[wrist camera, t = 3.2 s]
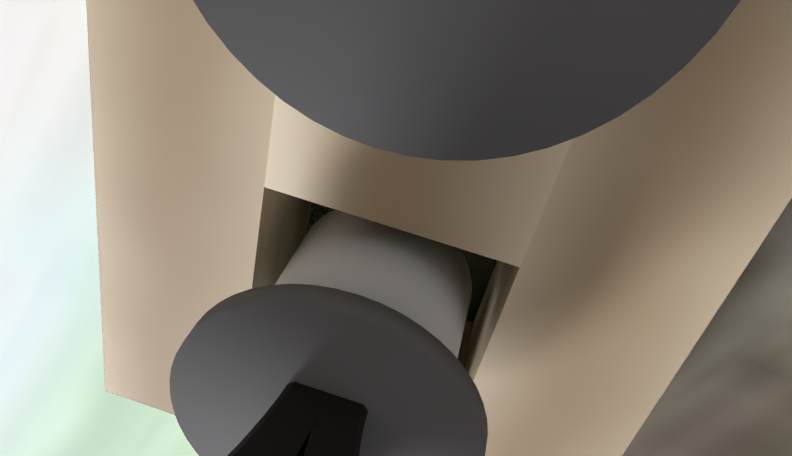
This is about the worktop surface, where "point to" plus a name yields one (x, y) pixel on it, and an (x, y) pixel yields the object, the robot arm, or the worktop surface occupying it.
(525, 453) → the knob mount
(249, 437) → the robot arm
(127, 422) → the worktop surface
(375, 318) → the knob rear
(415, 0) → the knob front
